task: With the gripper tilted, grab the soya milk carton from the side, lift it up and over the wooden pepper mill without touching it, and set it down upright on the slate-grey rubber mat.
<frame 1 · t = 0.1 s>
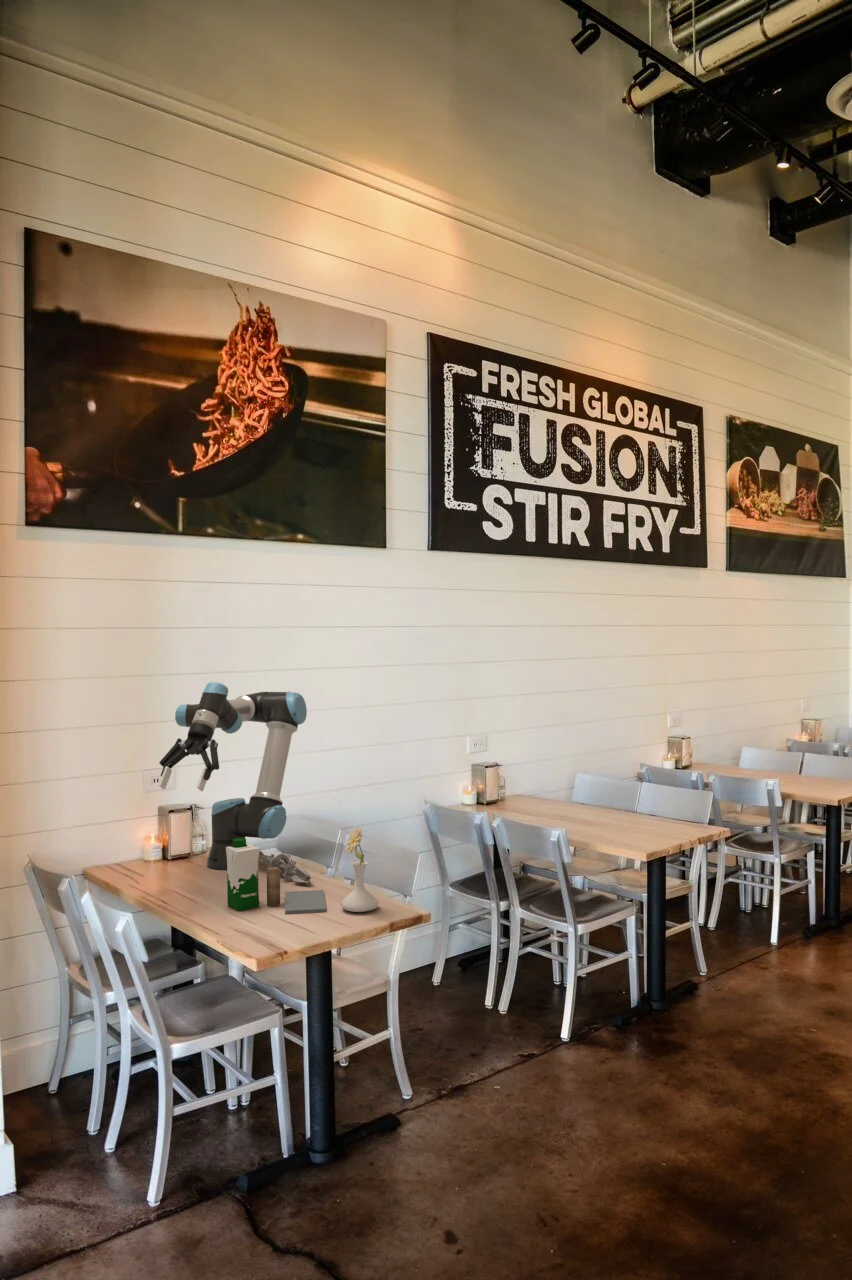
hand: (180, 788, 273), 36 cm above the table, fingers open, 13 cm apart
soya milk: (243, 907, 272), on the table
wooden pepper mill: (273, 904, 274), on the table
flower in vase: (360, 910, 268), on the table
slate mat: (305, 903, 275), on the table
spaceship: (279, 877, 306), on the table
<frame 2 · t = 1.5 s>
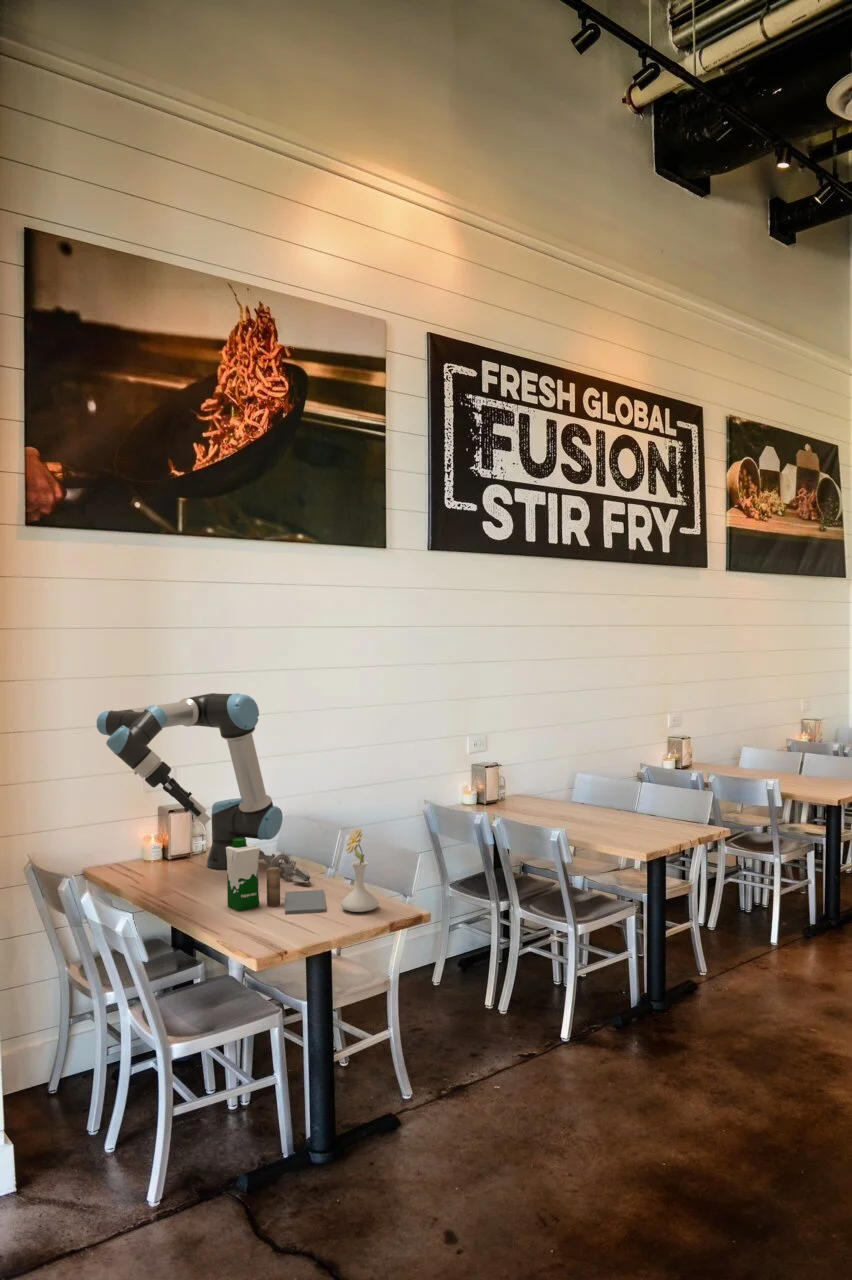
hand: (205, 817, 268), 28 cm above the table, fingers open, 13 cm apart
nothing on the table moved.
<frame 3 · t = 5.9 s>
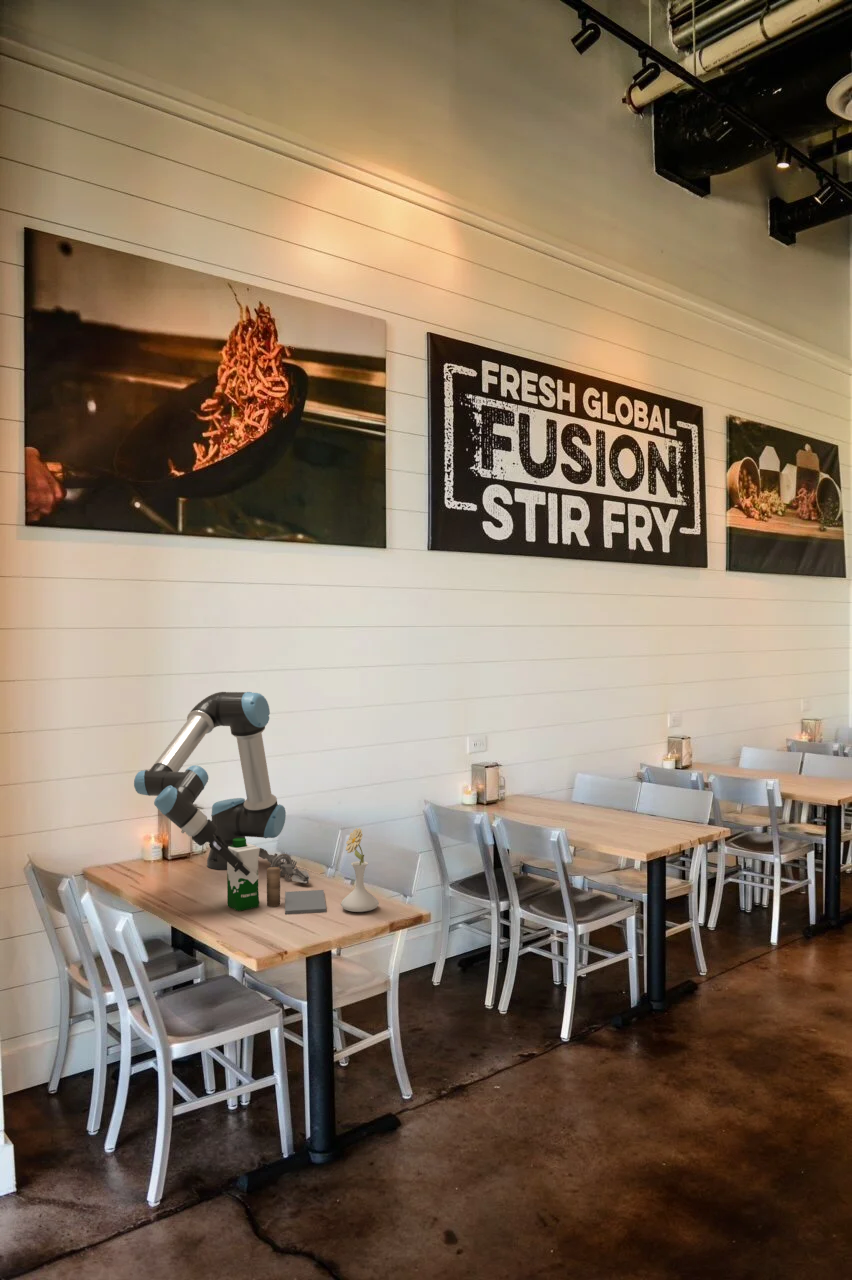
hand: (253, 876, 273), 9 cm above the table, fingers closed on soya milk, 9 cm apart
soya milk: (243, 907, 272), on the table, touching gripper
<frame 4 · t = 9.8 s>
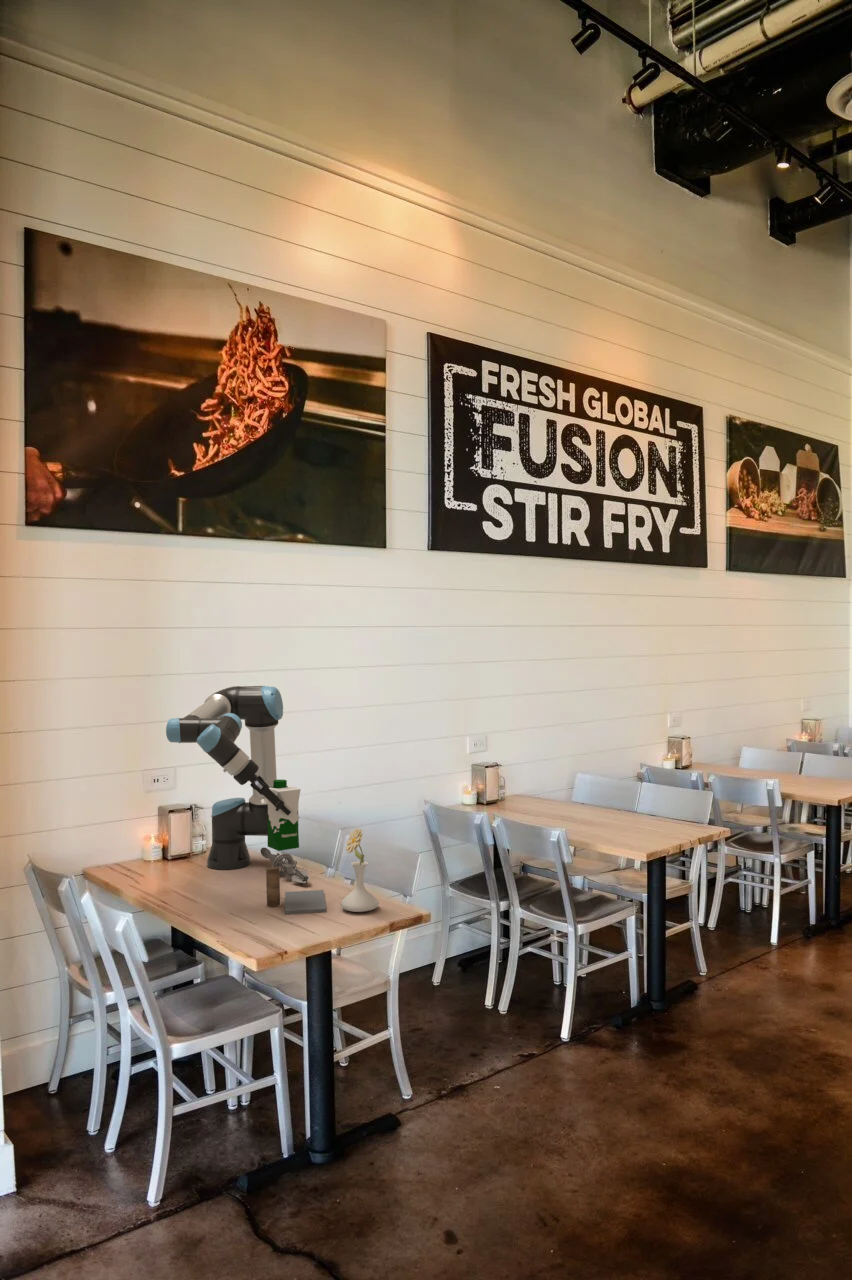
hand: (293, 817, 274), 27 cm above the table, fingers closed on soya milk, 9 cm apart
soya milk: (283, 848, 273), point 17 cm above the table, touching gripper
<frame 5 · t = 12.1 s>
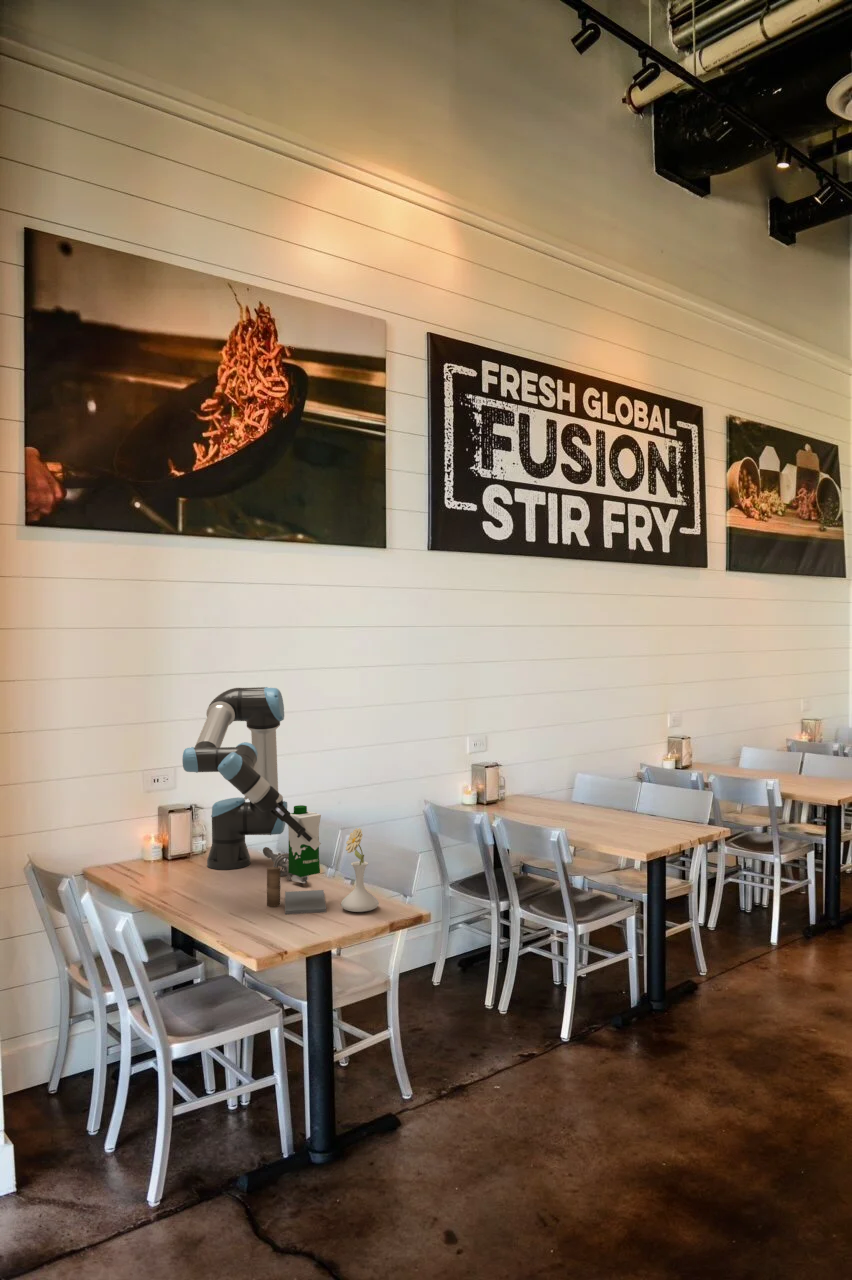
hand: (314, 843, 275), 18 cm above the table, fingers closed on soya milk, 9 cm apart
soya milk: (304, 873, 274), point 9 cm above the table, touching gripper
when the fingers open (11 cm above the table, at t = 13.9 s): soya milk drops 1 cm, resting on slate mat.
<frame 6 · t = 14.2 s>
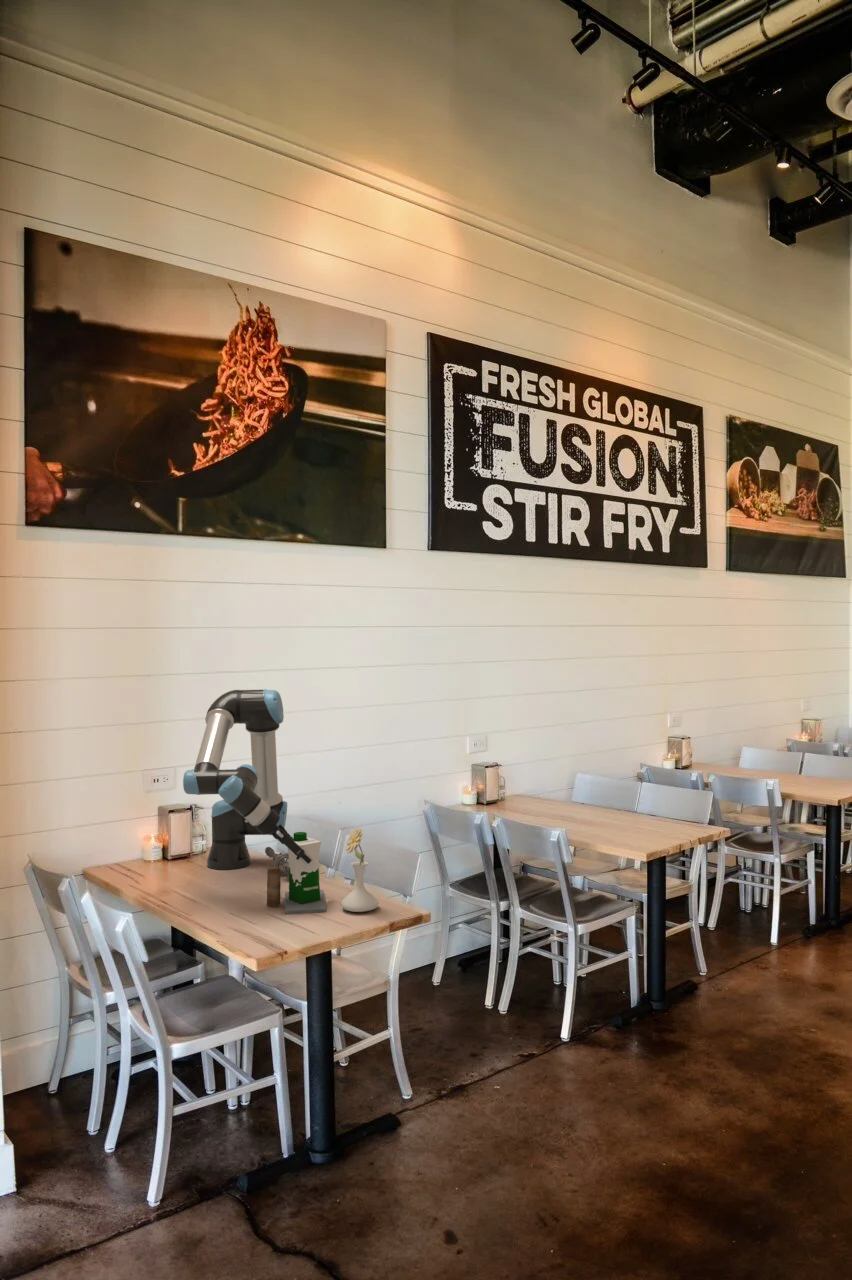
hand: (312, 863, 276), 12 cm above the table, fingers open, 12 cm apart
soya milk: (304, 900, 275), point 1 cm above the table, touching slate mat
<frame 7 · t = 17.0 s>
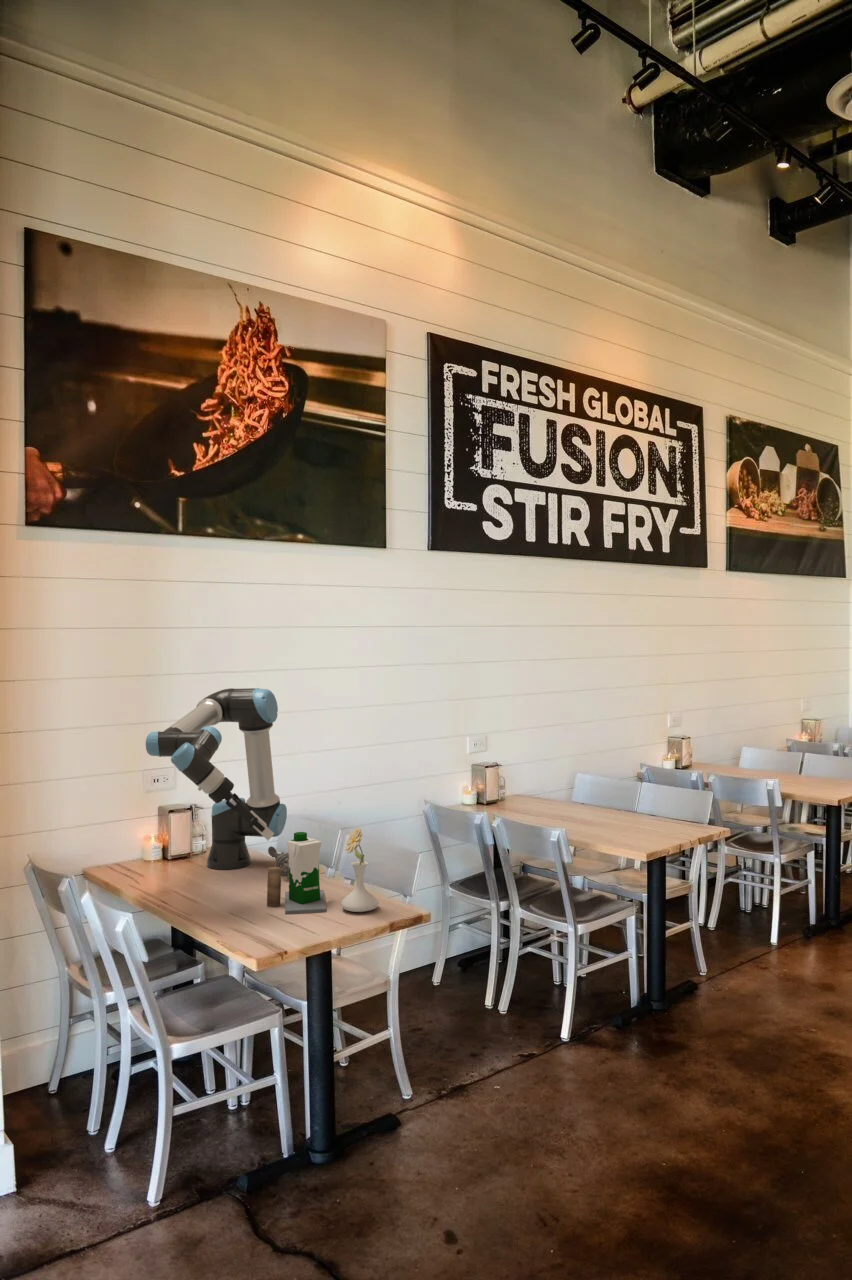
hand: (267, 832, 272), 23 cm above the table, fingers open, 13 cm apart
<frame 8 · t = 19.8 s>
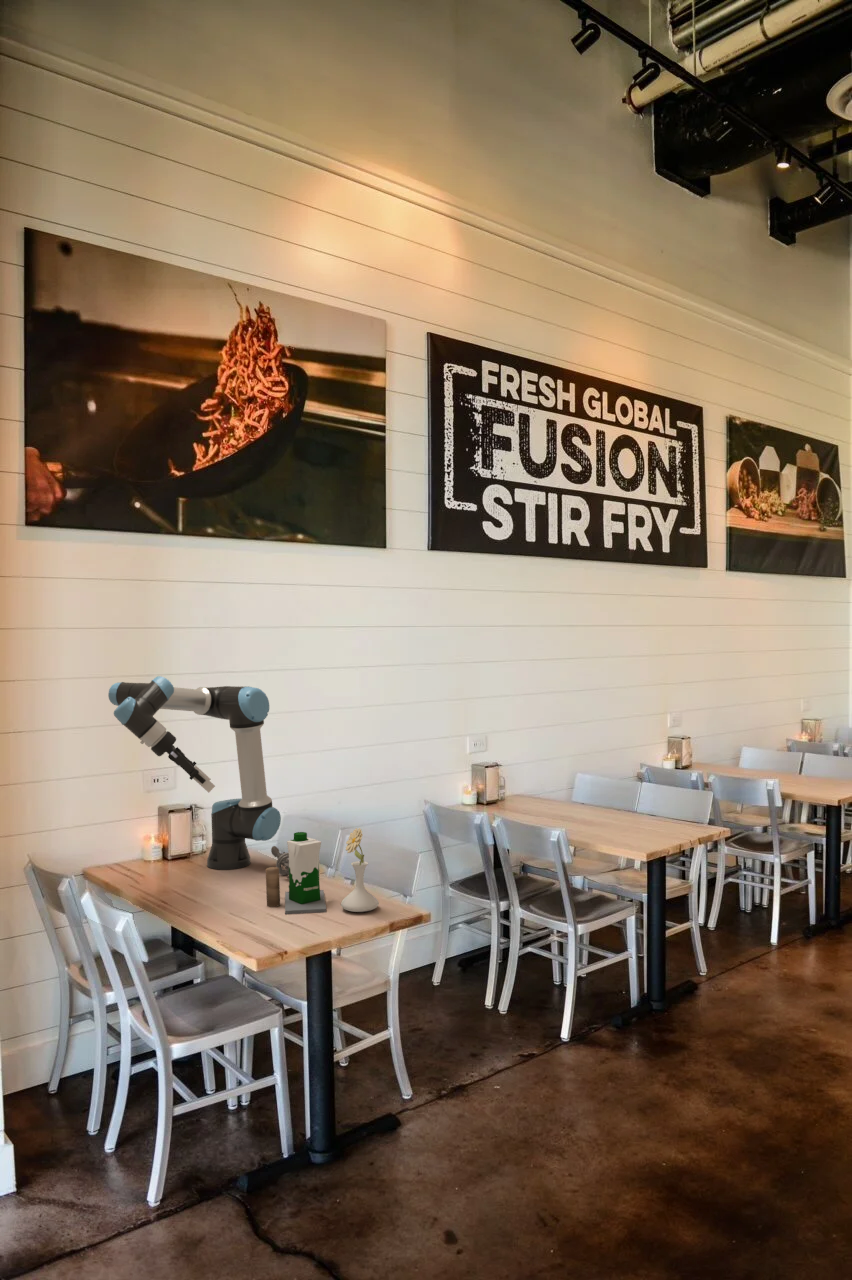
hand: (209, 785, 278), 36 cm above the table, fingers open, 13 cm apart
at the end: soya milk inside the target area on the slate mat (0.2 cm from its centre), point 0.8 cm above the slate mat's base; soya milk tilted 0°; wooden pepper mill moved 0.1 cm from its start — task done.
